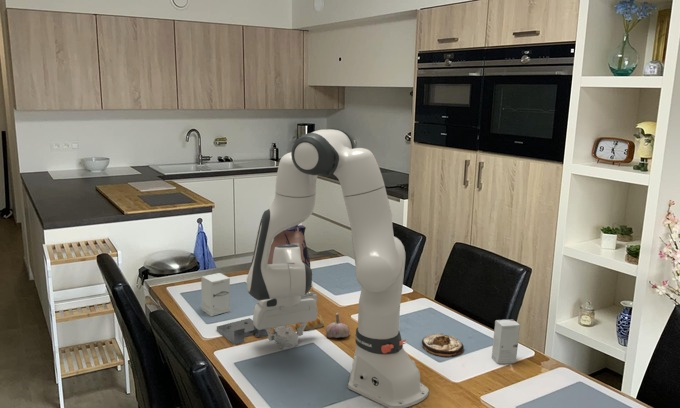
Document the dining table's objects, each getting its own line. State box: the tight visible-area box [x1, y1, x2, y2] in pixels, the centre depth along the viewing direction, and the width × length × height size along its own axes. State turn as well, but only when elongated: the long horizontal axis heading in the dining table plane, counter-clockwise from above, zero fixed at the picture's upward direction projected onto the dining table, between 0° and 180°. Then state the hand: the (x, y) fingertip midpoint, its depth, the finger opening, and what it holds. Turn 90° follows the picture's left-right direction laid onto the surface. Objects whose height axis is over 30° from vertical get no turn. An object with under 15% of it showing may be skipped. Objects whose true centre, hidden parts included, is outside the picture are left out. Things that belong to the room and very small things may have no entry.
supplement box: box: [200, 272, 231, 317], centre depth 191 cm, size 7×7×13 cm
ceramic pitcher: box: [267, 224, 311, 268], centre depth 217 cm, size 18×21×25 cm
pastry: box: [295, 313, 325, 332], centre depth 182 cm, size 9×7×4 cm
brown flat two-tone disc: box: [421, 332, 465, 358], centre depth 170 cm, size 15×15×4 cm
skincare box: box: [491, 319, 521, 365], centre depth 162 cm, size 6×4×12 cm
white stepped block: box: [273, 325, 299, 350], centre depth 171 cm, size 10×6×4 cm, turn 26°
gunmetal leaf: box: [216, 317, 268, 346], centre depth 175 cm, size 12×12×4 cm
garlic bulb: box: [325, 312, 350, 339], centre depth 175 cm, size 8×7×8 cm
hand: (285, 337), depth 169 cm, fingers open, 8 cm apart
